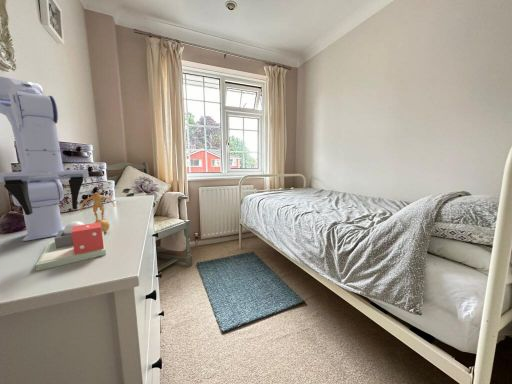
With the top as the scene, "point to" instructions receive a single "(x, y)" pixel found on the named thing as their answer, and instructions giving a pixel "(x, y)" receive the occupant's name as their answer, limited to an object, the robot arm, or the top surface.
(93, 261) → the top surface
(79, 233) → the die
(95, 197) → the figurine
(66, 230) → the white ball
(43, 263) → the board
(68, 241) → the housing
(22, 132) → the robot arm
